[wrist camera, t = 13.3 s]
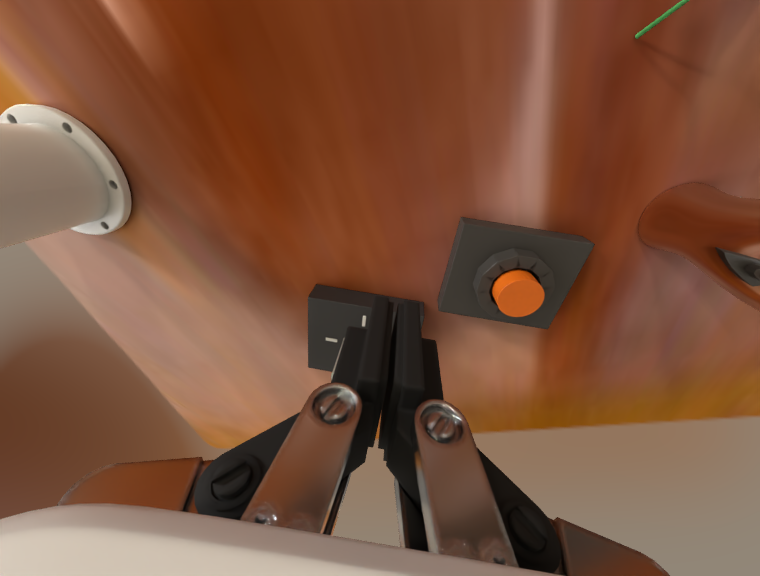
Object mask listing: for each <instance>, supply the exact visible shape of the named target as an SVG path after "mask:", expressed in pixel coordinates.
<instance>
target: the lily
mask: <svg viewBox="0 0 760 576" xmlns="http://www.w3.org/2000/svg"><path fill="white" fill-rule="evenodd" d="M688 1H690V0H682V1H680V2H679V3H678V4H676V5H675V6H673V7H672V8H671V9H669V10H668V11H667V12H665V13H664V14H663V15H661V16H660V17H659V18H657V19H656V20H655V21H653V22H652V23H651V24H650V25H648V26H647V27H646V28H644V29H643V30H642V31H640V32H639V33H638V34H636V35H635V37H636V39H638V38H639V37H641V36H642V35H643V34H645V33H646V32H647V31H649V30H650V29H651V28H653V27H654V26H655V25H657V24H658V23H660V22H661V21H662V20H664V19H665V18H666V17H668V16H669V15H670V14H672V13H673V12H674V11H676V10H677V9H679V8H680V7H681V6H683V5H684V4H685V3H687V2H688Z"/></svg>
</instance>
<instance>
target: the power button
mask: <svg viewBox="0 0 760 576" xmlns="http://www.w3.org/2000/svg"><path fill="white" fill-rule="evenodd" d="M492 294H493V297H494V299H495V301H496V303H497V305H498V307H499V309H500V310H501V311H502V312H503V313H504V314H506V315H508V316H512V317H523V316H527V315H529V314H531V313H533V312H535V311H536V310H537V309H538V308H539V307H540V306H541V305H542V303H543V301H544V296H545V294H544V290H543V288H542V286H541V285H540V284H539V282H538V281H537V280H536V279H535V277H534V276H533V275H532V274H531V273H529V272H528V271H525V270H519V269H516V270H510V271H507V272H505V273H503V274H502V275H500V276H499V277H498V278H497V279H496V280H495V282H494V284H493V287H492Z"/></svg>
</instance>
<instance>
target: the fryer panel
mask: <svg viewBox="0 0 760 576" xmlns="http://www.w3.org/2000/svg"><path fill="white" fill-rule="evenodd" d="M375 295H377V294H371V293H365V292H359V291H353V290H347V289H341V288H335V287H329V286H323V285H318V284H316V285H315V287H314V289H313V290H312V292H311V293H310V295H309V297H308V367H309V368H314V369H320V370H325V371H331V372H333V369H334V366H335V363H336V360H337V357H338V354H339V351H340V348H341V345H342V342H343V339H344V337H345V334H346V331H347V328H348V326H352V327H358V328H364V329H368V326H369V321H370V316H371V311H372V306H373V301H374V296H375ZM377 296H383V295H377ZM383 297H389V296H383ZM404 300H407V299H401V298H395V297H389V301H390V302H394V308H393V321H392V330H393V325H394V321H395V316H396V311H397V306H398V303H402V304H403V303H404ZM407 301H413V300H407ZM413 302H419V301H413ZM419 306H420V322H421V328H422V324H423V320H424V302H419ZM391 335H392V333H391Z"/></svg>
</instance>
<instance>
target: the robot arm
mask: <svg viewBox="0 0 760 576" xmlns="http://www.w3.org/2000/svg"><path fill="white" fill-rule="evenodd" d="M131 204H132V203H131V193H130V189H129V185H128V182H127V179H126V177H125V175H124V172H123V170H122V168H121V167H120V165H119V163H118V162H117V160H116V158H115V157H114V155H113V154H112V153H111V151H110V150H109V149H108V148H107V146H106V145H105V144H104V143H103V142H102V141H101V140H100V139H99V138H98V137H97V136H96V135H95V133H93V132H92V131H91V130H90V129H89V128H87V127H86V126H85V125H84V124H83V123H81V122H80V121H78V120H77V119H75V118H73V117H72V116H70V115H69V114H67V113H65V112H62V111H60V110H58V109H56V108H52V107H48V106H44V105H35V104H20V105H14V106H12V107H10V108H8V109H6V110H5V111H4V113H3V114H2V115H1V116H0V249H1V248H4V247H7V246H11V245H15V244H18V243H21V242H25V241H28V240H32V239H35V238H38V237H42V236H45V235H49V234H52V233H55V232H59V231H62V230H66V229H72V230H74V231H77V232H80V233H84V234H90V235H101V234H107V233H110V232H113V231H115V230H117V229H119V228H121V227H122V226H123V225H124V224H125V223H126V221H127V220H128V218H129V215H130V213H131ZM393 308H394V302H390V301H389V297H383V296H377V295H375V296H374V301H373V306H372V311H371V316H370V321H369V326H368V329H364V328H358V327H352V326H348V328H347V331H346V334H345V338H344V341H343V344H342V348H341V351H340V354H339V358H338V361H337V364H336V368H335V371H334V374H333V378H332V381H331V383H327V384H325V385H322V386H320V387H318V388H317V389H316V390H314V391H313V392H312V394H311V395H310V396H309V398H308V400H307V401H306V403H305V405H304V407H303V408H302V410H301V412H299V413H298V414H296V415H294V416H292V417H290V418H288V419H286V420H285V421H283V422H281V423H279V424H277V425H275V426H274V427H272V428H270V429H268V430H266V431H264V432H263V433H261V434H259V435H257V436H255V437H253V438H251V439H250V440H248V441H246V442H244V443H242V444H240V445H239V446H237V447H235V448H233V449H231V450H229V451H228V452H226V453H224V454H222V455H221V456H219V457H218V458H217V459H215V460H208V461H203V459H202V457H196V458H183V459H171V460H157V461H144V462H131V463H117V464H112V465H108V466H104V467H101V468H99V469H97V470H95V471H93V472H91V473H89V474H87V475H86V476H85V477H83V478H82V479H80V480H79V481H78V482H76V483H75V484H74V485H73V486H72V487H71V488H70V489H69V491H68V492H67V493H66V494H65V495H64V496H63V498H62V499H61V500H60V502H59V503H58V505H57V506H56V507H50V508H45V509H39V510H34V511H29V512H25V513H21V514H18V515H14V516H10V517H7V518H3V519H0V576H670V575H669V574H668V573H667V572H666V571H665V570H664V569H663V568H662V567H661V566H660V565H659V564H657V563H656V562H655V561H654V560H653V559H651V558H649V557H648V556H646V555H644V554H642V553H641V552H638V551H636V550H634V549H631V548H629V547H627V546H624V545H622V544H619V543H617V542H615V541H612V540H610V539H608V538H605V537H603V536H601V535H598V534H596V533H593V532H591V531H588V530H586V529H584V528H581V527H579V526H577V525H574V524H572V523H570V522H567V521H565V520H563V519H560V518H558V517H557V518H556V519H555V520H552V519H550V518H548V517H547V516H546V515H545V514H544V513H543V512H542V511H541V509H540V508H539V507H538V506H537V505H536V504H535V503H534V502H533V501H532V500H531V499H530V498H529V497H528V496H527V495H526V494H524V493H523V492H522V491H521V490H520V489H519V488H518V487H517V486H516V485H515V484H514V483H513V482H512V481H511V480H510V479H509V478H508V477H507V476H506V475H505V474H504V473H503V472H502V471H501V470H500V469H498V467H496V466H495V465H494V464H493V463H492V462H491V461H490V460H489V459H488V458H487V457H486V456H485V455H484V454H483V453H482V452H481V451H480V450H479V449H478V448H477V447H476V444H475V442H474V439H473V436H472V433H471V430H470V428H469V425H468V422H467V420H466V418H465V417H464V415H463V414H462V413H461V412H460V410H459V409H458V408H456V407H455V406H453V405H452V404H450V403H448V402H446V401H444V399H443V391H442V383H441V376H440V368H439V360H438V352H437V345H436V341H435V340H430V339H424V338H421V322H420V306H419V302H413V301H407V300H404V303H403V304H402V303H398V306H397V311H396V316H395V321H394V325H393V330H392V321H393ZM391 333H392V335H391ZM381 410H382V412H381ZM380 414H381V422H380V433H379V445H378V448H380V449H384V461H387V463H386V466H387V467H388V468H389V470H390V471H391V472H392V474H393V475H394V476H395V481H394V486H395V496H396V507H397V517H398V528H399V539H400V547H395V546H390V545H384V544H378V543H372V542H366V541H361V540H355V539H349V538H343V537H336V536H332V534H333V531H334V528H335V525H336V521H337V518H338V515H339V512H340V509H341V505H342V502H343V499H344V496H345V492H346V489H347V486H348V483H349V479H350V475H351V472H353V471H354V470H355V469H356V468H358V467H359V466H360V465H362V464H363V463H364V462H365V459H366V454H367V449H368V447H373V445H374V441H375V436H376V432H377V428H378V423H379V419H380Z"/></svg>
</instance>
